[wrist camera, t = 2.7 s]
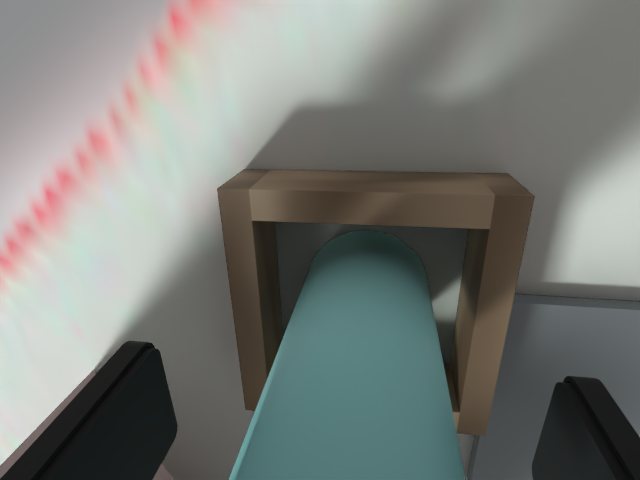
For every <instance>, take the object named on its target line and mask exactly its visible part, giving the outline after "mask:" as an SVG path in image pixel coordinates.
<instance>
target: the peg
mask: <svg viewBox="0 0 640 480" xmlns="http://www.w3.org/2000/svg"><path fill="white" fill-rule="evenodd" d="M229 480H466V478H465V473H464V468H463V462H462V457H461V452H460V447H459V442H458V436H457V431H456V426H455V421H454V416H453V411H452V405H451V400H450V395H449V390H448V385H447V380H446V374H445V369H444V364H443V359H442V354H441V349H440V343H439V338H438V333H437V328H436V323H435V318H434V312H433V307H432V302H431V297H430V292H429V287H428V281H427V276H426V272H425V269H424V266H423V264H422V262H421V260H420V259H419V257H418V256H417V254H416V253H415V252H414V251H413V250H412V249H411V248H410V247H409V246H408V245H407V244H405V243H404V242H402V241H401V240H399V239H398V238H396V237H394V236H391V235H388V234H386V233H382V232H377V231H369V230H364V231H354V232H349V233H345V234H343V235H340V236H338V237H336V238H334V239H332V240H331V241H329V242H328V243H327V244H325V245H324V246H323V247H322V248H321V249H320V250H319V252H318V253H317V254H316V256H315V257H314V259H313V261H312V263H311V266H310V269H309V271H308V274H307V277H306V279H305V282H304V284H303V287H302V290H301V292H300V295H299V297H298V300H297V303H296V305H295V308H294V310H293V313H292V316H291V318H290V321H289V324H288V326H287V329H286V331H285V334H284V337H283V339H282V342H281V344H280V347H279V350H278V352H277V355H276V357H275V360H274V363H273V365H272V368H271V371H270V373H269V376H268V378H267V381H266V384H265V386H264V389H263V391H262V394H261V397H260V399H259V402H258V404H257V407H256V410H255V412H254V415H253V418H252V420H251V423H250V425H249V428H248V431H247V433H246V436H245V438H244V441H243V444H242V446H241V449H240V452H239V454H238V457H237V459H236V462H235V465H234V467H233V470H232V472H231V475H230V478H229Z"/></svg>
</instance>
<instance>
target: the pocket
mask: <svg viewBox="0 0 640 480" xmlns="http://www.w3.org/2000/svg"><path fill="white" fill-rule="evenodd" d="M217 191H218V199H219V207H220V215H221V222H222V230H223V238H224V246H225V253H226V261H227V269H228V277H229V284H230V292H231V300H232V308H233V315H234V323H235V331H236V339H237V347H238V354H239V362H240V370H241V378H242V385H243V393H244V401H245V409H246V410H252V411H255V410H256V407H257V404H258V402H259V399H260V397H261V394H262V391H263V389H264V386H265V384H266V381H267V378H268V376H269V373H270V371H271V368H272V365H273V363H274V360H275V357H276V355H277V352H278V350H279V347H280V344H281V342H282V339H283V331H282V317H281V303H280V289H279V275H278V261H277V247H276V233H275V221H276V222H304V223H331V224H359V225H387V226H414V227H442V228H469V229H468V236H467V243H466V250H465V258H464V265H463V272H462V279H461V286H460V293H459V300H458V308H457V315H456V322H455V329H454V336H453V343H452V351H451V358H450V365H449V364H444V369H445V374H446V380H447V385H448V390H449V395H450V400H451V405H452V411H453V416H454V421H455V426H456V431H457V433H460V434H469V435H478V436H486V431H487V426H488V421H489V416H490V411H491V406H492V402H493V397H494V392H495V387H496V382H497V377H498V372H499V367H500V362H501V358H502V353H503V348H504V343H505V338H506V333H507V328H508V323H509V318H510V314H511V309H512V304H513V299H514V294H515V289H516V284H517V279H518V274H519V269H520V265H521V260H522V255H523V250H524V245H525V240H526V235H527V230H528V225H529V221H530V216H531V211H532V206H533V201H534V195H533V194H531V193H530V192H529V191H528V190H527V189H526V188H524V187H523V186H522V185H521V184H520V183H519V182H517V181H516V180H515V179H514V178H513V177H512V176H511V175H509V174H502V173H440V172H377V171H315V170H252V169H244V170H243V171H241V172H240V173H238V174H237V175H236V176H234V177H233V178H231V179H230V180H229V181H227V182H226V183H224V184H223V185H221V186H220V187H219V188H217Z"/></svg>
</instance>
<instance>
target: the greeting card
mask: <svg viewBox="0 0 640 480" xmlns="http://www.w3.org/2000/svg"><path fill="white" fill-rule="evenodd" d="M95 375H96V372H95V371H94V370H93V371H92V372H91V373H90V374H89V375H88V376H87V377H86V378H85V379H84V380H83V381H82V382H81V383H80V384H79V385H78V386H77V387H76V388H75V389H74V390H73V391H72V393H71V394H70V395H69V396H68V397H67V398H66V399H65V400H64V401H63V402H62V403H61V404H60V405H59V406H58V407H57V408H56V409H55V410H54V411H53V412H52V413H51V414H50V415H49V416H48V417H47V418H46V419H45V420H44V421H43V422H42V423H41V424H40V425H39V427H38V428H37V429H36V430H35V431H34V432H33V433H32V434H31V435H30V436H29V437H28V438H27V439H26V440H25V441H24V442H23V443H22V444H21V445H20V446H19V447H18V448H17V449H16V450H15V451H14V452H13V453H12V454H11V455H10V456H9V457H8V458H7V459H6V461H5V462H4V463H3V464H2V465H1V466H0V478H1V477H2V476H3V475H4V474H5V473H6V472H7V471H8V470H9V469H10V468H11V466H12V465H13V464H14V463H15V462H16V461H17V460H18V459H19V458H20V457H21V455H22V454H23V453H24V452H25V451H26V450H27V449H28V448H29V447H30V446H31V445H32V443H33V442H34V441H35V440H36V439H37V438H38V437H39V436H40V435H41V434H42V433H43V431H44V430H45V429H46V428H47V427H48V426H49V425H50V424H51V423H52V422H53V421H54V419H55V418H56V417H57V416H58V415H59V414H60V413H61V412H62V411H63V410H64V408H65V407H66V406H67V405H68V404H69V403H70V402H71V401H72V400H73V399H74V398H75V396H76V395H77V394H78V393H79V392H80V391H81V390H82V389H83V388H84V387H85V386H86V384H87V383H88V382H89V381H90V380H91V379H92V378H93V377H94V376H95ZM153 480H174V479H173V478H172V477H171V475H170V474H169V472H168V471H167V470H166V468H165V467H164V466H163V464H162V463H161V465H160V467H159V469H158V471H157V472H156V474H155V476H154V478H153Z"/></svg>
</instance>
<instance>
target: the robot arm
mask: <svg viewBox="0 0 640 480" xmlns="http://www.w3.org/2000/svg"><path fill="white" fill-rule="evenodd" d="M176 433H177V422H176V417H175V413H174V409H173V405H172V401H171V396H170V392H169V388H168V384H167V380H166V376H165V371H164V367H163V363H162V359H161V355H160V352H159V350H158V349H155V347H154V345H153V344H152V343H149V342H137V341H128V342H126V343H124V344H123V345H122V346H121V347H120V348H119V349H118V351H117V352H116V353H115V354H114V355H113V356H112V357H111V358H110V359H109V360H108V361H107V363H106V364H105V365H104V366H103V367H102V368H101V369H100V370H99V371H98V372H97V374H96V375H95V376H94V377H93V378H92V379H91V380H90V381H89V382H88V383H87V384H86V386H85V387H84V388H83V389H82V390H81V391H80V392H79V393H78V394H77V395H76V396H75V398H74V399H73V400H72V401H71V402H70V403H69V404H68V405H67V406H66V407H65V408H64V410H63V411H62V412H61V413H60V414H59V415H58V416H57V417H56V418H55V419H54V421H53V422H52V423H51V424H50V425H49V426H48V427H47V428H46V429H45V430H44V431H43V433H42V434H41V435H40V436H39V437H38V438H37V439H36V440H35V441H34V442H33V443H32V445H31V446H30V447H29V448H28V449H27V450H26V451H25V452H24V453H23V454H22V455H21V457H20V458H19V459H18V460H17V461H16V462H15V463H14V464H13V465H12V466H11V468H10V469H9V470H8V471H7V472H6V473H5V474H4V475H3V476H2V477H1V478H0V480H153V478H154V476H155V474H156V472H157V471H158V469H159V467H160V465H161V463H162V461H163V460H164V458H165V456H166V454H167V452H168V451H169V449H170V447H171V445H172V443H173V441H174V439H175V437H176ZM532 476H533V480H640V437H639V435H638V434H637V432H636V431H635V430H634V428H633V427H632V425H631V424H630V422H629V421H628V419H627V418H626V416H625V415H624V414H623V412H622V411H621V409H620V408H619V406H618V405H617V403H616V402H615V400H614V399H613V398H612V396H611V395H610V393H609V392H608V390H607V389H606V387H605V386H604V384H603V383H602V382H601V381H600V380H599V379H597V378H588V377H576V376H567V377H565V378H564V380H563V382H557V383H556V385H555V387H554V391H553V394H552V397H551V401H550V404H549V408H548V411H547V414H546V418H545V421H544V425H543V428H542V431H541V435H540V438H539V442H538V445H537V448H536V452H535V455H534V459H533V462H532Z"/></svg>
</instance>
